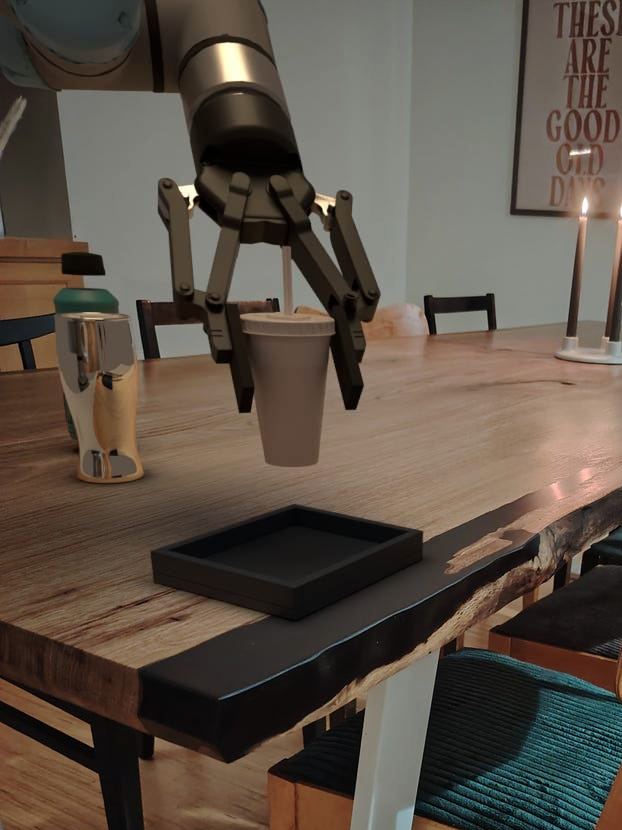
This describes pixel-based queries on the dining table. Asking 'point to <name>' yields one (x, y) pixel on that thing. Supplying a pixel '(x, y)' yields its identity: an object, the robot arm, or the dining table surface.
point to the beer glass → (101, 392)
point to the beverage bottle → (83, 298)
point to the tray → (287, 559)
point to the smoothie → (289, 377)
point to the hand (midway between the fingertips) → (301, 398)
